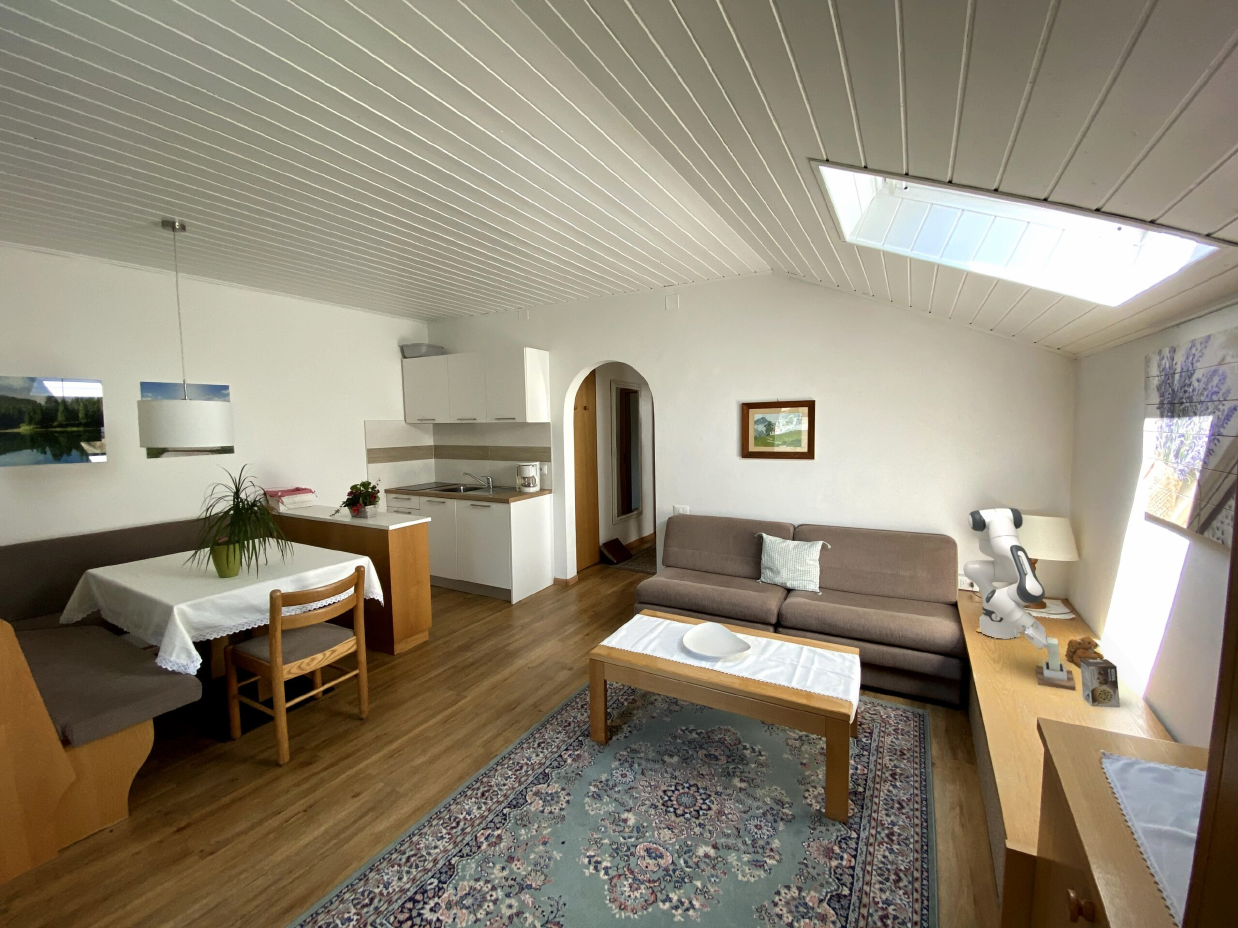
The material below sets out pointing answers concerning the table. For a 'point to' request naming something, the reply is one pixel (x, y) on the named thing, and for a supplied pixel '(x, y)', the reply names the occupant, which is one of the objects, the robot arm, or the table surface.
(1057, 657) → the pale green rectangular block
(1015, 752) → the table surface
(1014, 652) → the table surface
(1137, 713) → the table surface
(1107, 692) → the coffee box
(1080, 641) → the stuffed squirrel
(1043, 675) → the wooden base with socket
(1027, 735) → the table surface
